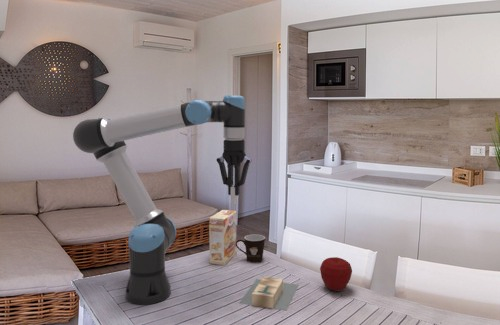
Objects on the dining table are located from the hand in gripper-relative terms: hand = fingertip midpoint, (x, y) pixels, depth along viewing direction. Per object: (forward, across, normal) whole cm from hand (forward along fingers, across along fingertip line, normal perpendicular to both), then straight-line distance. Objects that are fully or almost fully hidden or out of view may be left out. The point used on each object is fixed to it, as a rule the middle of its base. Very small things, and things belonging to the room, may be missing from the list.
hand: (233, 203), depth 149 cm
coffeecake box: (+30, +12, -20) cm, 38 cm away
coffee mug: (+29, 0, -22) cm, 37 cm away
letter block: (+27, -16, +3) cm, 31 cm away
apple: (+29, -37, -4) cm, 47 cm away
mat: (+29, -16, +7) cm, 34 cm away
